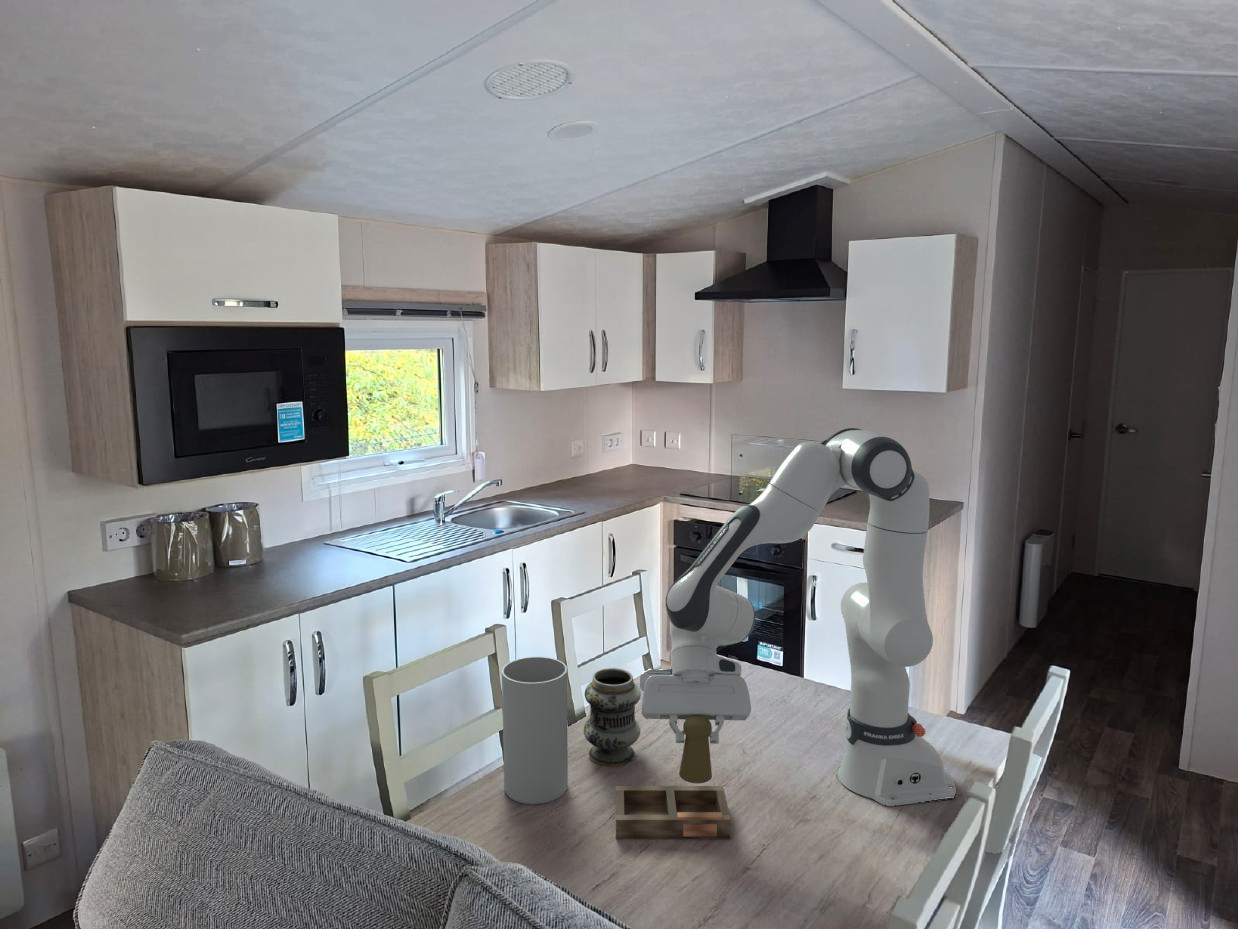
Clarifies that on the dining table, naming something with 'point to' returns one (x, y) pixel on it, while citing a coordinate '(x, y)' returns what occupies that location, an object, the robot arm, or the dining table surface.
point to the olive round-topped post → (696, 750)
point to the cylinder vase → (535, 729)
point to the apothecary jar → (612, 717)
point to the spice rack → (672, 812)
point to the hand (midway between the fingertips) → (697, 742)
